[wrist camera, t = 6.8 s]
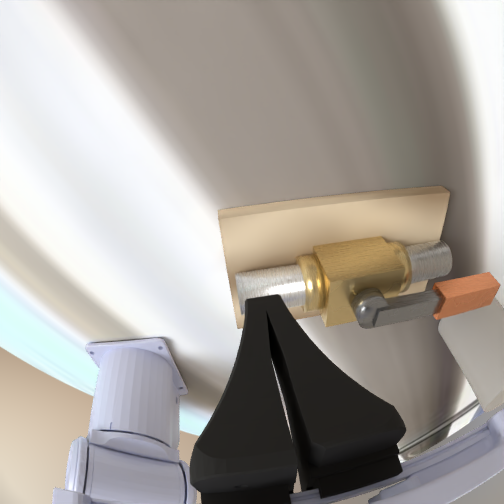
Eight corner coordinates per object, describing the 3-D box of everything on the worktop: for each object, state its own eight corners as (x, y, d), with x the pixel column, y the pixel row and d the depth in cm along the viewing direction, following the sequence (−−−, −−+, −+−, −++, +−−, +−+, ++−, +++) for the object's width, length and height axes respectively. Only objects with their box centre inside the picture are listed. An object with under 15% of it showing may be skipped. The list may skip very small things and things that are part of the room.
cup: (454, 340, 35) (494, 411, 25) (427, 328, 32) (474, 412, 22) (496, 297, 31) (545, 365, 22) (476, 277, 28) (537, 357, 18)
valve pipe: (424, 263, 25) (450, 296, 21) (238, 296, 24) (245, 341, 20) (435, 223, 22) (465, 255, 19) (232, 253, 22) (237, 297, 18)
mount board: (418, 283, 27) (424, 292, 26) (236, 318, 26) (237, 328, 25) (441, 185, 21) (450, 192, 20) (217, 210, 20) (218, 219, 19)
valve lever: (348, 315, 20) (358, 338, 18) (354, 290, 19) (366, 313, 17) (476, 289, 21) (489, 305, 19) (486, 267, 20) (501, 283, 18)
